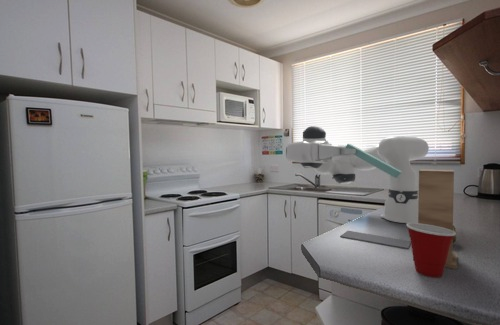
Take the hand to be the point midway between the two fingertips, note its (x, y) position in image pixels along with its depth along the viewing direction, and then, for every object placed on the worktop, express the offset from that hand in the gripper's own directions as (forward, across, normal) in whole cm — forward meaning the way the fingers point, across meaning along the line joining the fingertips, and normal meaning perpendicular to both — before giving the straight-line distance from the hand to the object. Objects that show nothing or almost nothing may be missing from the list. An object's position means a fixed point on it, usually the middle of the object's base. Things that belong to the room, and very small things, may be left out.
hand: (358, 151), depth 100 cm
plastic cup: (+24, +20, -32) cm, 45 cm away
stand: (+24, +8, -32) cm, 41 cm away
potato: (+25, -12, -32) cm, 43 cm away
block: (+4, 0, -4) cm, 6 cm away
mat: (+6, -1, -32) cm, 32 cm away
